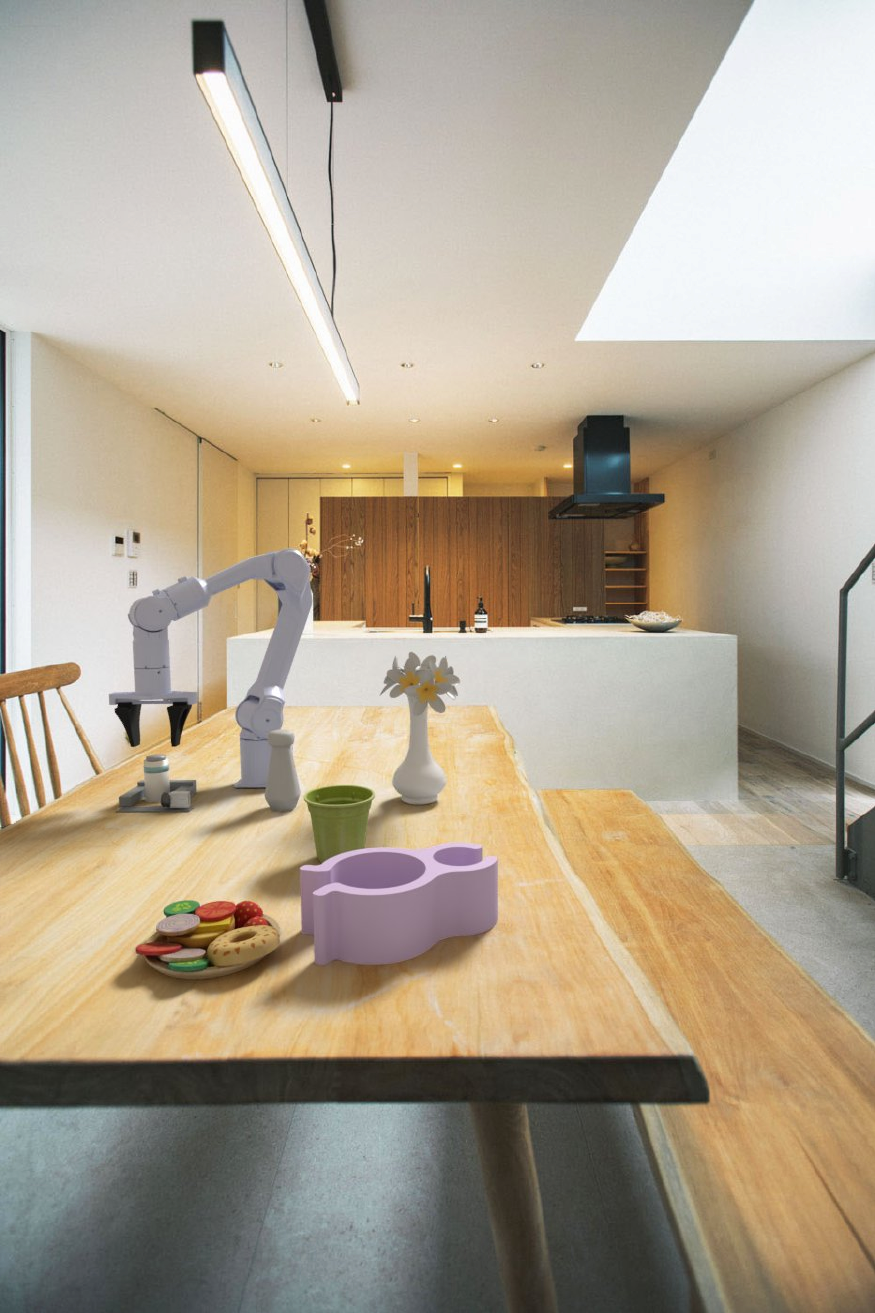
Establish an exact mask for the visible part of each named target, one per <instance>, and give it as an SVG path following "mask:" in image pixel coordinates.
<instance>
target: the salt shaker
mask: <svg viewBox="0 0 875 1313" xmlns="http://www.w3.org/2000/svg"><path fill="white" fill-rule="evenodd" d="M294 742H295V733H294V732H293V731H292V730H290V729H285V728H283V729H282V728H281V729H280V730H274V731H271V732H270V733H269V734H268V745H270V746H272V749H271V756H270V764H269V771H268V777H267V784H266V787H265V791H264V798H265V801H266V803H267V804H268V806H269V808H270V809H271V811H272V812H277V813H284V812H290V811H293V810H294V809H296V807H297V804H298V801H299V799H300V797H301V793H302V791H301V786H300V782H299V781H300V780H299V777H298V772H297V768H296V764H295V759H294V752H293V753H292V749H291V745H292V744H293V745H294Z"/></svg>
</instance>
